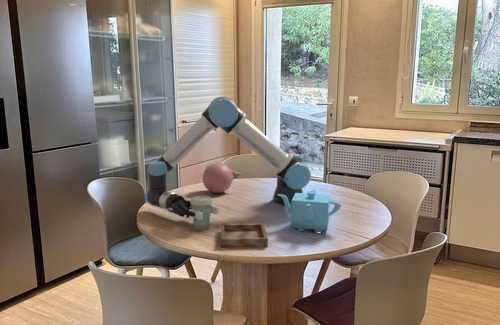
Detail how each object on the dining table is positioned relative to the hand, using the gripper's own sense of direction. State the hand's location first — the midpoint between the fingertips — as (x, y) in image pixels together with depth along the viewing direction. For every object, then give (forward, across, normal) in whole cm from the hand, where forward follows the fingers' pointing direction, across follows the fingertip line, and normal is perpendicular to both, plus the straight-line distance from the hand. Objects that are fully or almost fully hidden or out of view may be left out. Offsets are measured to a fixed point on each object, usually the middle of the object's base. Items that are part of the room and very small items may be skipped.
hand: (209, 213), depth 169 cm
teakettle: (+26, -28, -7) cm, 39 cm away
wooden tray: (+16, -2, -7) cm, 17 cm away
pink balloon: (-37, -43, -7) cm, 57 cm away
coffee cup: (-5, 0, -7) cm, 8 cm away
